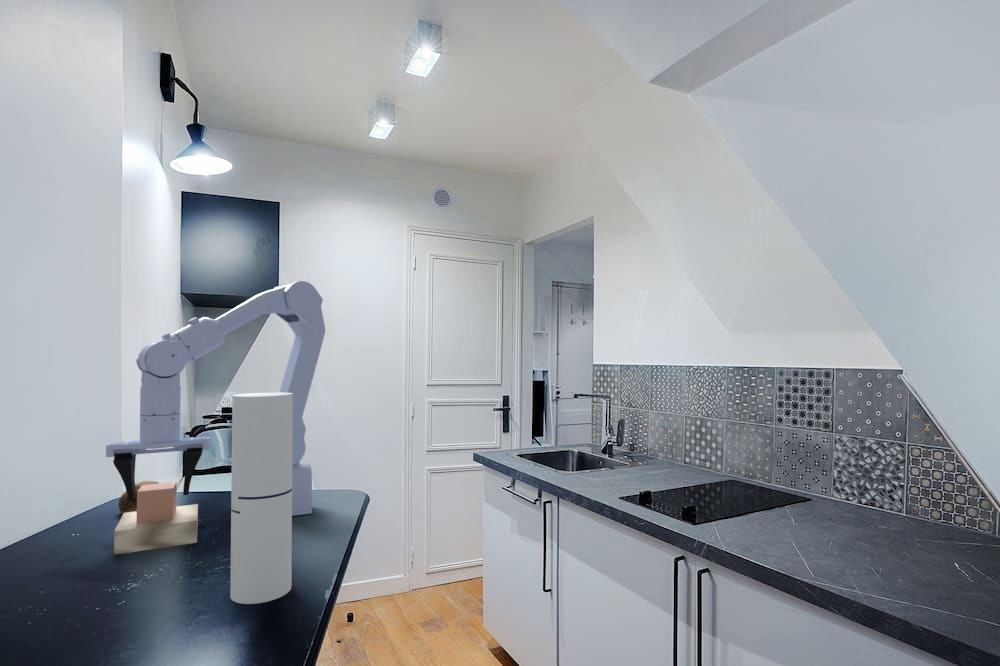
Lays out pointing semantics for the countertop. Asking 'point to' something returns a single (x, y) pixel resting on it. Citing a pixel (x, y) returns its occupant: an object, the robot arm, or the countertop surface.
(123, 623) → the countertop surface
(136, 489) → the mushroom
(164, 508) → the terracotta cube
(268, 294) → the robot arm
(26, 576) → the countertop surface
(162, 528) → the birch block
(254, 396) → the cylindrical container
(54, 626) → the countertop surface
